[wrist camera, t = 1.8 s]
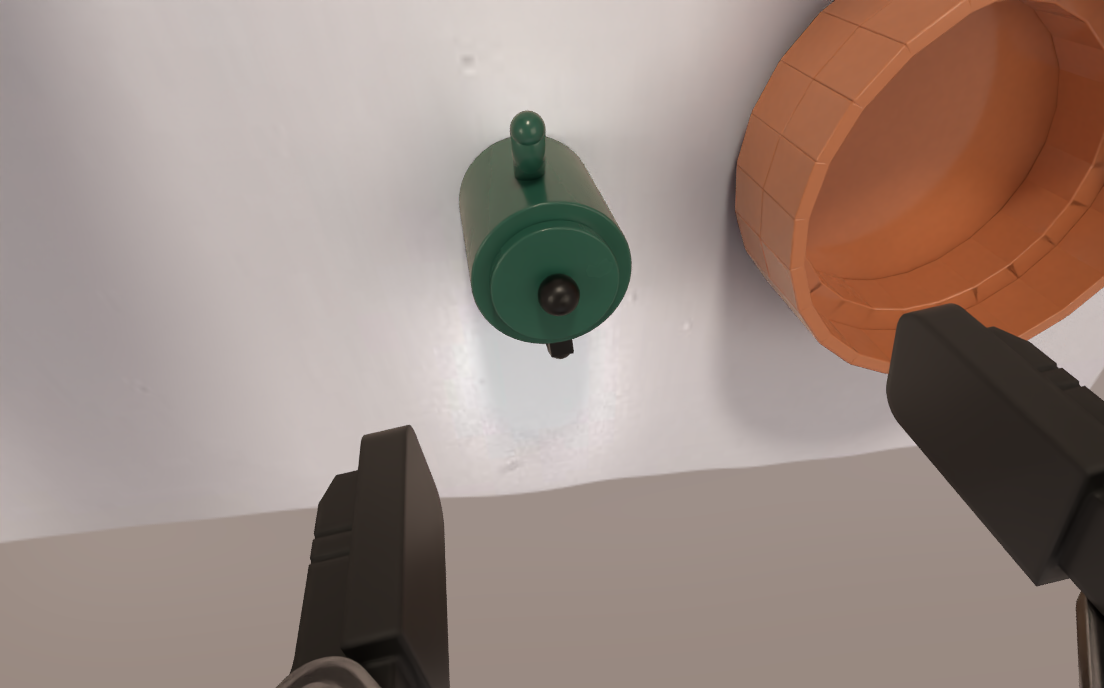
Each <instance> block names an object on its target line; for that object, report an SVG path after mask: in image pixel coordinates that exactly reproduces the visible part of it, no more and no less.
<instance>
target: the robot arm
mask: <svg viewBox="0 0 1104 688" xmlns="http://www.w3.org/2000/svg"><path fill="white" fill-rule="evenodd" d="M886 393H887V399H888V403H889V406H890V409H891V411H892V413H893V415H894V417H895V419H896V420H897V422H898V423H899V424H900V425H901V427H902V428H903V429H904V430H905V431H906V433H907V434H908V435H909V436H910V437H911V439H912V440H913V441H914V442H915V443H916V444H917V446H918V447H919V448H920V449H921V450H922V452H923V453H924V454H925V455H926V456H927V457H928V459H929V460H930V461H931V462H932V463H933V465H934V466H935V467H936V468H937V469H938V470H939V472H940V473H941V474H942V475H943V476H944V478H945V479H946V480H947V481H948V482H949V484H950V485H951V486H952V487H953V488H954V489H955V490H956V492H957V493H958V494H959V495H960V497H961V498H962V499H963V500H964V501H965V502H966V504H967V505H968V506H969V507H970V508H971V510H972V511H973V512H974V513H975V514H976V515H977V517H978V518H979V519H980V520H981V521H982V523H983V524H984V525H985V526H986V527H987V529H988V530H989V531H990V532H991V533H992V534H993V536H994V537H995V538H996V539H997V540H998V542H999V543H1000V544H1001V545H1002V546H1003V548H1004V549H1005V550H1006V551H1007V552H1008V553H1009V555H1010V556H1011V557H1012V558H1013V559H1014V561H1015V562H1016V563H1017V564H1018V565H1019V566H1020V568H1021V569H1022V570H1023V571H1024V572H1025V574H1026V575H1027V576H1028V577H1029V578H1030V579H1031V581H1032V582H1033V583H1034V584H1035V585H1036V586H1040V585H1044V584H1048V583H1052V582H1056V581H1061V580H1064V579H1069V578H1070V579H1071V580H1072V581H1073V582H1074V584H1075V585H1076V586H1077V587H1078V588H1079V589H1080V590H1081V592H1080V594H1079V596H1078V599H1077V601H1076V621H1077V622H1076V624H1077V646H1078V667H1079V688H1104V401H1103V400H1102V399H1101V398H1099V397H1098V396H1097V395H1096V394H1094V393H1093V392H1092V391H1091V390H1089V389H1088V388H1087V387H1086V386H1082V387H1081V386H1080V385H1079V381H1078V380H1077V379H1076V378H1074V377H1073V376H1072V375H1070V374H1069V373H1068V372H1067V371H1065V370H1064V369H1063V368H1058V367H1057V363H1055V362H1054V361H1053V360H1052V359H1050V358H1049V357H1048V356H1047V355H1045V354H1044V353H1043V352H1042V351H1040V350H1039V349H1038V348H1037V347H1035V346H1034V345H1033V344H1032V343H1030V342H1029V341H1026V340H1024V339H1022V338H1020V337H1017V336H1015V335H1013V334H1010V333H1008V332H1006V331H1004V330H1001V329H999V328H997V327H995V326H992V327H987V328H986V327H985V326H984V325H983V324H982V323H980V322H979V321H978V320H977V319H976V318H974V317H973V316H972V315H971V314H970V313H968V312H967V311H966V310H965V309H964V308H962V307H961V306H959V305H957V304H954V303H948V304H944V305H940V306H935V307H931V308H926V309H922V310H918V311H913V312H909V313H905V314H903V315H902V316H901V317H900V318H899V320H898V323H897V327H896V333H895V338H894V344H893V350H892V356H891V361H890V367H889V373H888V379H887V385H886ZM314 535H315V539H314V540H313V542H312V549H311V556H310V560H311V564H310V565H309V568H308V574H307V581H306V588H305V593H304V600H303V606H302V612H301V619H300V625H299V631H298V638H297V644H296V651H295V657H294V661H293V666H292V669H291V672H290V674H289V675H288V676H287V677H286V678H285V679H284V680H283V681H282V682H281V683H280V684H279V685H278V686H277V687H276V688H450V681H449V653H448V624H447V595H446V567H445V540H444V539H445V538H444V520H443V513H442V507H441V502H440V498H439V494H438V491H437V488H436V485H435V482H434V480H433V477H432V475H431V472H430V470H429V467H428V465H427V462H426V459H425V457H424V454H423V452H422V449H421V447H420V444H419V442H418V439H417V436H416V434H415V432H414V430H413V428H412V426H410V425H406V426H402V427H397V428H393V429H389V430H384V431H380V432H375V433H371V434H367V435H364V436H363V437H362V440H361V446H360V456H359V466H358V470H357V471H352V472H348V473H344V474H339V475H336V476H335V478H334V479H333V481H332V483H331V484H330V486H329V488H328V489H327V491H326V493H325V494H324V496H323V497H322V499H321V501H320V502H319V504H318V511H317V517H316V523H315V531H314Z"/></svg>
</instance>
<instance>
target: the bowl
mask: <svg viewBox="0 0 1104 688" xmlns="http://www.w3.org/2000/svg"><path fill="white" fill-rule="evenodd" d="M735 213H736V217H737V221H738V225H739V228H740V232H741V236H742V240H743V243H744V247H745V249H746V251H747V253H748V254H749V256H750V257H751V259H752V260H753V262H754V263H755V265H756V266H757V267H758V269H759V270H760V272H761V273H762V275H763V276H764V278H765V279H766V280H767V281H768V283H769V284H770V285H771V286H772V287H773V289H774V290H775V291H776V292H777V293H778V295H779V296H780V297H781V298H782V299H783V301H784V302H785V303H786V304H787V305H788V307H790V309H791V310H792V311H793V312H794V314H795V315H796V316H797V317H798V318H799V320H800V321H801V322H802V323H803V324H804V326H805V327H806V328H807V329H808V330H809V332H810V333H811V334H812V335H813V336H814V338H815V339H816V340H817V341H818V342H819V343H820V344H821V345H823V346H824V347H825V348H827V349H828V350H830V351H831V352H833V353H834V354H836V355H837V356H838V357H840V358H841V359H843V360H844V361H846V362H847V363H850V364H852V365H855V366H859V367H863V368H866V369H870V370H874V371H877V372H881V373H885V374H886V373H887V374H888V373H889V367H890V361H891V356H892V350H893V344H894V338H895V333H896V327H897V323H898V320H899V318H900V317H901V316H902V315H903V314H905V313H909V312H913V311H918V310H922V309H926V308H931V307H935V306H940V305H944V304H948V303H954V304H957V305H959V306H961V307H962V308H964V309H965V310H966V311H967V312H968V313H970V314H971V315H972V316H973V317H974V318H976V319H977V320H978V321H979V322H980V323H982V324H983V325H984V326H985V327H986V328H987V327H992V326H995V327H997V328H999V329H1001V330H1004V331H1006V332H1008V333H1010V334H1013V335H1015V336H1017V337H1020V338H1022V339H1024V340H1026V341H1027V340H1029V339H1031V338H1032V337H1034V336H1036V335H1037V334H1039V333H1041V332H1042V331H1044V330H1046V329H1047V328H1049V327H1051V326H1052V325H1054V324H1056V323H1057V322H1059V321H1061V320H1062V319H1064V318H1066V316H1069V315H1070V314H1071V313H1072V312H1073V311H1075V310H1076V309H1077V308H1078V307H1080V306H1081V305H1082V304H1083V303H1085V302H1086V301H1087V300H1088V299H1089V298H1091V297H1092V296H1093V295H1094V294H1096V293H1097V292H1098V291H1099V290H1101V289H1102V288H1103V287H1104V0H835V1H834V2H832V3H831V4H830V5H829V6H827V7H826V8H825V9H823V10H822V12H820V13H819V14H818V16H817V17H816V18H815V19H814V20H813V21H812V23H811V24H810V25H809V26H808V27H807V29H806V30H805V31H804V32H803V33H802V34H801V36H800V37H799V38H798V39H797V40H796V42H795V43H794V44H793V45H792V46H791V48H790V49H789V50H788V51H787V52H786V53H785V55H784V56H783V57H782V58H781V61H779V63H778V65H777V66H776V68H775V70H774V72H773V74H772V76H771V77H770V79H769V81H768V83H767V85H766V87H765V88H764V90H763V92H762V94H761V96H760V98H759V99H758V101H757V103H756V105H755V107H754V109H753V110H752V113H751V116H750V119H749V122H748V126H747V129H746V133H745V136H744V140H743V143H742V147H741V150H740V153H739V157H738V160H737V168H736V196H735Z"/></svg>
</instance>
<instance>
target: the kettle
mask: <svg viewBox="0 0 1104 688" xmlns="http://www.w3.org/2000/svg"><path fill="white" fill-rule="evenodd" d="M510 136H511V137H510V138H506V139H504V140H501V141H499V142H497V143H495V144H493V145H491V146H490V147H488V148H487V149H486V150H484V151H483V152H482V153H481V154H480V155H479V156H478V157H477V158H476V159H475V160H474V161H473V163H472V164H471V165H470V167H469V168H468V170H467V172H466V174H465V176H464V178H463V181H462V184H461V188H460V194H459V208H460V215H461V221H462V228H463V234H464V241H465V248H466V254H467V261H468V268H469V274H470V281H471V287H472V293H473V297H474V300H475V303H476V305H477V307H478V309H479V310H480V312H481V313H482V315H483V316H484V318H485V319H486V320H487V321H488V322H489V323H490V324H491V325H492V326H494V327H495V328H496V329H497V330H499V331H500V332H502V333H504V334H505V335H507V336H510V337H512V338H514V339H517V340H521V341H524V342H530V343H539V344H546V346H547V349H548V352H549V353H550V355H551V357H554V358H557V359H563V358H566V357H567V356H568V355H569V354H571V353H573V352H574V350H573V343H572V339H574V338H577V337H579V336H582V335H584V334H586V333H588V332H590V331H591V330H593V329H594V328H596V327H597V326H599V325H600V324H601V323H603V322H604V321H605V320H606V319H607V318H608V317H609V316H610V315H611V314H612V313H613V312H614V311H615V309H616V308H617V307H618V305H619V304H620V302H621V301H622V299H623V297H624V295H625V293H626V290H627V288H628V285H629V281H630V276H631V264H632V261H631V254H630V249H629V246H628V243H627V241H626V239H625V237H624V235H623V233H622V231H621V229H620V228H619V226H618V224H617V222H616V220H615V219H614V217H613V215H612V213H611V212H610V210H609V208H608V206H607V205H606V203H605V201H604V199H603V197H602V196H601V194H600V192H599V190H598V189H597V187H596V185H595V183H594V182H593V180H592V178H591V176H590V174H589V173H588V171H587V169H586V167H585V166H584V164H583V163H582V161H581V160H580V158H579V157H578V156H577V155H576V154H575V153H574V152H573V151H572V150H571V149H570V148H568V147H567V146H565V145H564V144H562V143H561V142H559V141H556V140H554V139H552V138H548V137H545V124H544V121H543V119H542V118H541V117H540V116H539V115H538V114H537V113H535V112H533V111H522V112H520V113H518V114H517V115H516V116H515V117H514V118H513V120H512V122H511V125H510Z"/></svg>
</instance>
